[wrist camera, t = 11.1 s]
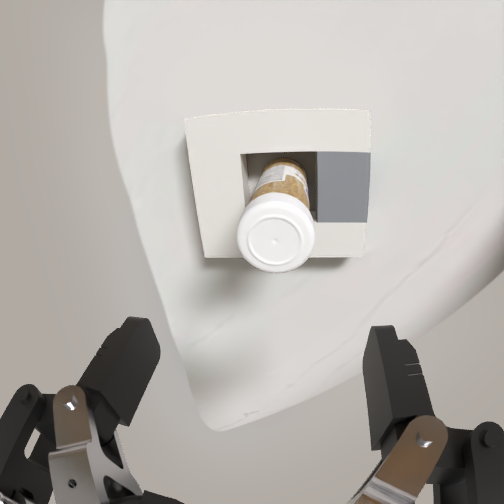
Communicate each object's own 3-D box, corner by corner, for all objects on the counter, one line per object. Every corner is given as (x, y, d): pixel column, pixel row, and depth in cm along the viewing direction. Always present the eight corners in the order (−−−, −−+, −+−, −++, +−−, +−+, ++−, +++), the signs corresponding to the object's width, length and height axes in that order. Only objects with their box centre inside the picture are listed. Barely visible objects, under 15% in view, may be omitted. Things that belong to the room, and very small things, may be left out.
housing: (362, 109, 23) (370, 110, 21) (357, 243, 30) (363, 257, 27) (194, 116, 26) (183, 119, 23) (212, 244, 32) (204, 257, 30)
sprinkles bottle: (313, 192, 28) (326, 263, 16) (270, 207, 29) (253, 284, 18) (296, 149, 26) (299, 191, 15) (252, 166, 28) (220, 219, 16)
